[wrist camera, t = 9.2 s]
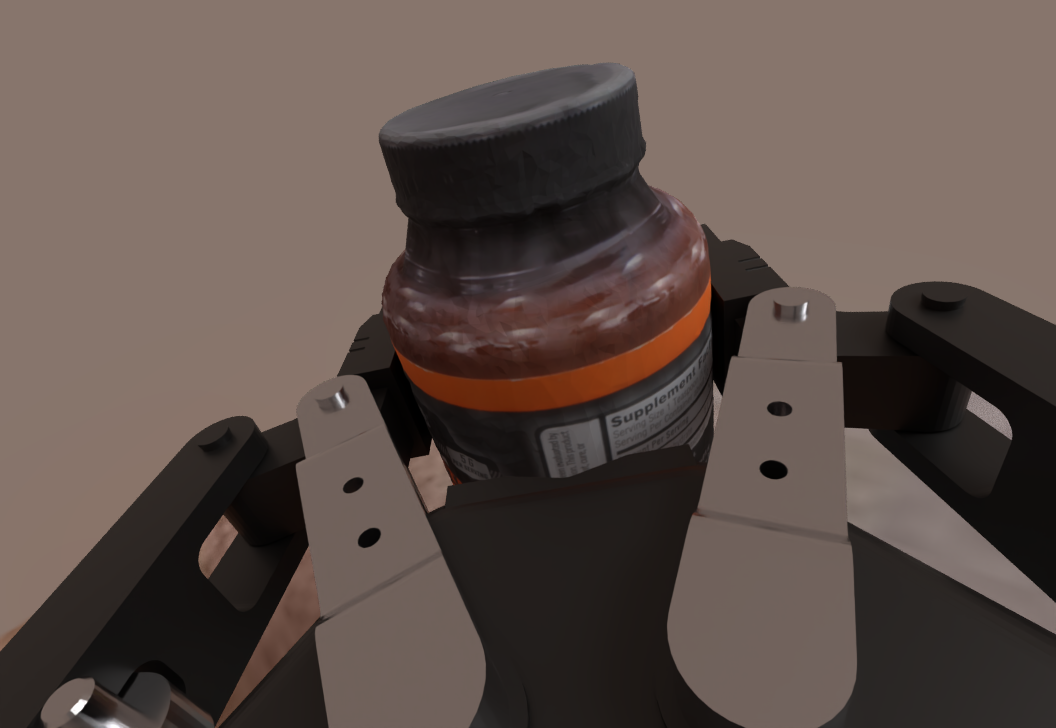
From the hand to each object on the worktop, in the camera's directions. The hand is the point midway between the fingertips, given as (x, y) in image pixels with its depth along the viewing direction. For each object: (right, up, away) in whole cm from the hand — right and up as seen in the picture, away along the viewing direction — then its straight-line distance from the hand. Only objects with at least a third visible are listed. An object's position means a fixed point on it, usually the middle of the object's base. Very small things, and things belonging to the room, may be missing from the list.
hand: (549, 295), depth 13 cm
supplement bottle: (+1, -7, +2) cm, 7 cm away
